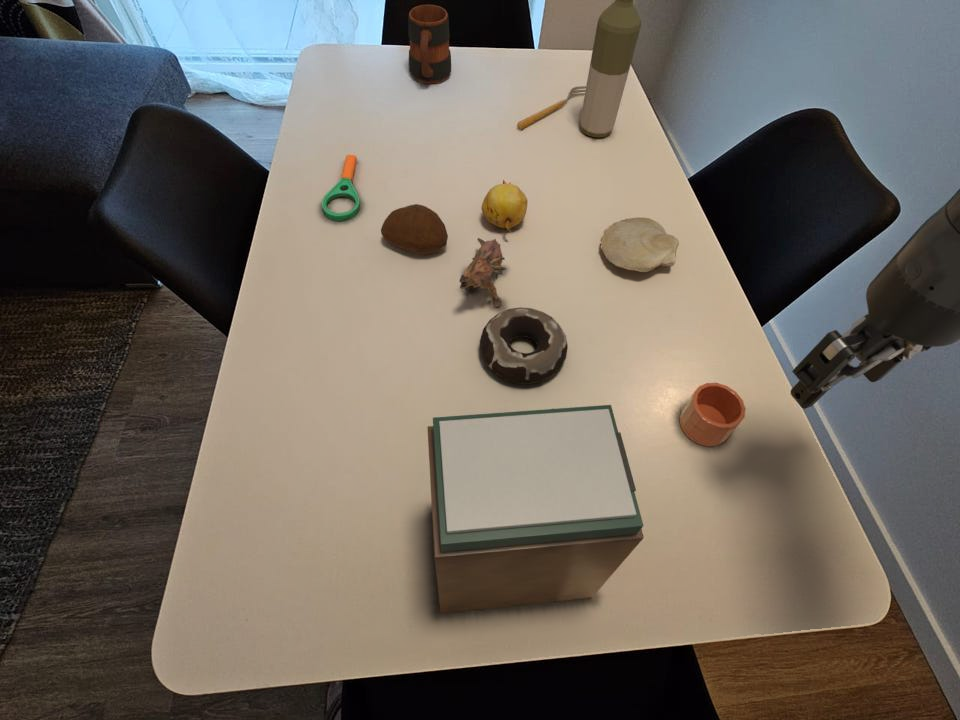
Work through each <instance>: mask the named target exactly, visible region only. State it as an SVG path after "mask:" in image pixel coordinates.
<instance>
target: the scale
mask: <svg viewBox="0 0 960 720" xmlns="http://www.w3.org/2000/svg"><path fill="white" fill-rule="evenodd" d="M432 426H433V431H434V447H435V463H436V479H437V495H438V511H439V527H440V544H441V552H453V551H464V550H475V549H486V548H496V547H507V546H518V545H529V544H540V543H550V542H561V541H572V540H583V539H593V538H604V537H615V536H626V535H636V534H637V533H638V532H639V531H640V530H641V529H643V528H644V522H643V519H642V515H641V510H640V508H639V504H638V500H637V497H636V493H635V492H637V489H636V486H635V482H634V478H633V473H632V471H631V467H630V462H629V459H628V456H627V452H626V448H625V445H624V440H623V437H622V434H621V433H622V432H619V429H618V425H617V422H616V418H615V414H614V411H613V407H612V404H604V405H603V404H602V405H590V406H589V405H587V406H576V407H560V408H550V409H549V408H547V409H533V410H518V411H507V412H505V411H504V412H490V413H479V414H477V413H476V414H465V415H451V416H450V415H448V416H438V417H437V416H435V417H434V416H433V417H432Z"/></svg>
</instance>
